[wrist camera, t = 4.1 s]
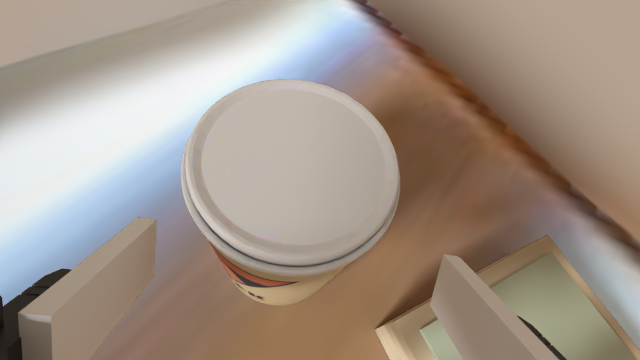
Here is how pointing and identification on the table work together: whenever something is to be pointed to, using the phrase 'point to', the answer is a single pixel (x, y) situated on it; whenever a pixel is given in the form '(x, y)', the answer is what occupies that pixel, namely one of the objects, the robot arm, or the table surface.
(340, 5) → the table surface
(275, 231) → the coffee cup
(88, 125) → the table surface
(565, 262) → the birch riser
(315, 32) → the table surface
